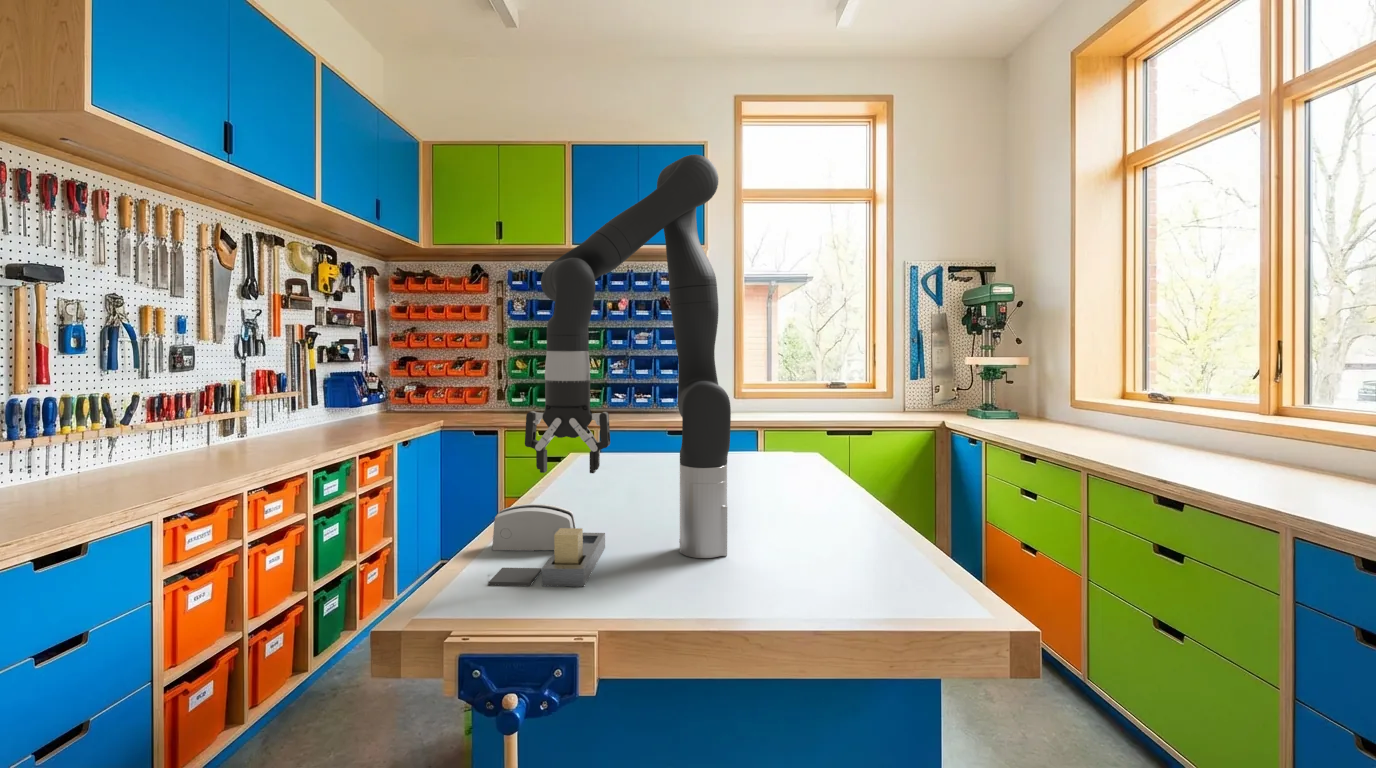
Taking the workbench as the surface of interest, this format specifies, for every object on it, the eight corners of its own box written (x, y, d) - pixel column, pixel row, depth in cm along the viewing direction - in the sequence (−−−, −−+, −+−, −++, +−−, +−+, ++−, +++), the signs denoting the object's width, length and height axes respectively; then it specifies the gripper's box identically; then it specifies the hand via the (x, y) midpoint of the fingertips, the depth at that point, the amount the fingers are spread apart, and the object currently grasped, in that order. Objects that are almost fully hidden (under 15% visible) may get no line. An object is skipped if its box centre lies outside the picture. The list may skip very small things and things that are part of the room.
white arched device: (580, 547, 129) (579, 500, 127) (576, 558, 125) (574, 510, 123) (498, 546, 130) (495, 500, 127) (491, 557, 125) (488, 509, 123)
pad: (541, 571, 113) (541, 568, 113) (530, 586, 106) (530, 582, 106) (502, 570, 113) (502, 567, 113) (488, 585, 106) (488, 581, 106)
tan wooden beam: (582, 573, 112) (582, 528, 111) (578, 581, 108) (577, 535, 107) (560, 573, 112) (560, 528, 112) (554, 581, 108) (554, 534, 108)
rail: (605, 547, 126) (605, 532, 126) (583, 586, 105) (583, 569, 105) (570, 547, 127) (570, 532, 126) (542, 586, 106) (541, 568, 105)
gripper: (612, 377, 112) (612, 469, 113) (532, 376, 112) (533, 467, 113) (605, 379, 104) (605, 477, 105) (519, 378, 105) (520, 476, 106)
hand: (567, 472), depth 109 cm, fingers open, 8 cm apart
